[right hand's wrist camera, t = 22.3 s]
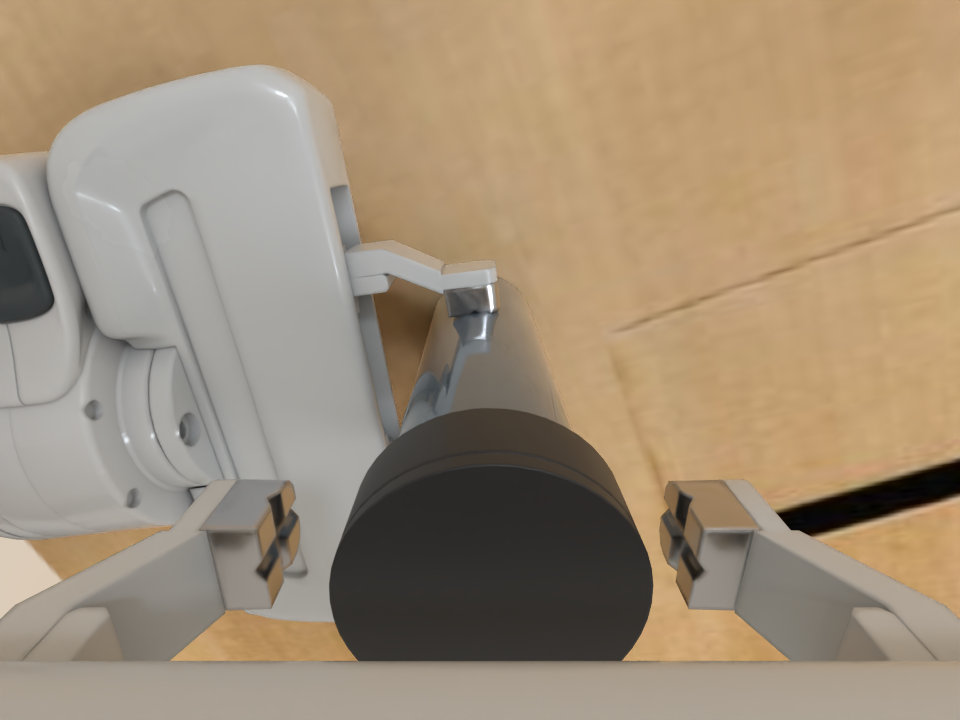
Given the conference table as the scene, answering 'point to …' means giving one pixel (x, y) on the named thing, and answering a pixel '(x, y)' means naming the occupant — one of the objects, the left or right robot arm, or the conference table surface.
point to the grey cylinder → (484, 364)
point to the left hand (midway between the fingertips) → (507, 362)
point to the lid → (490, 548)
